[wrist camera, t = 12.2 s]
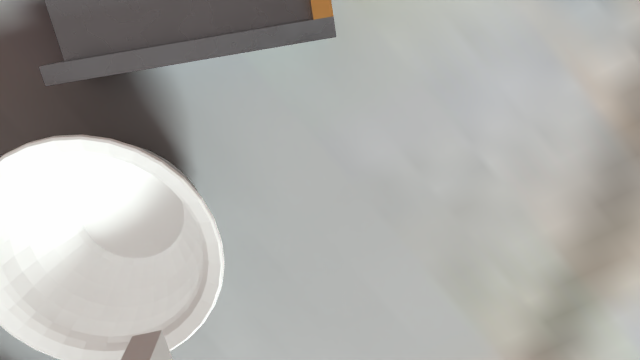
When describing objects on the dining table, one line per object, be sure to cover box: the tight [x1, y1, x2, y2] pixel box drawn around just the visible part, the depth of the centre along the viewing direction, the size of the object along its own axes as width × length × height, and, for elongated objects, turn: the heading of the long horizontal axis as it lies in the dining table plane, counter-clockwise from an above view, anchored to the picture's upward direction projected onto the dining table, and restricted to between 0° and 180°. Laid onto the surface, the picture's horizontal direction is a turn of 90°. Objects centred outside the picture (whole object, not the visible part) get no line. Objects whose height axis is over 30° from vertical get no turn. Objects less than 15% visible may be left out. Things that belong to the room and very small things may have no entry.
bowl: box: [0, 134, 225, 360], centre depth 34 cm, size 16×16×8 cm
